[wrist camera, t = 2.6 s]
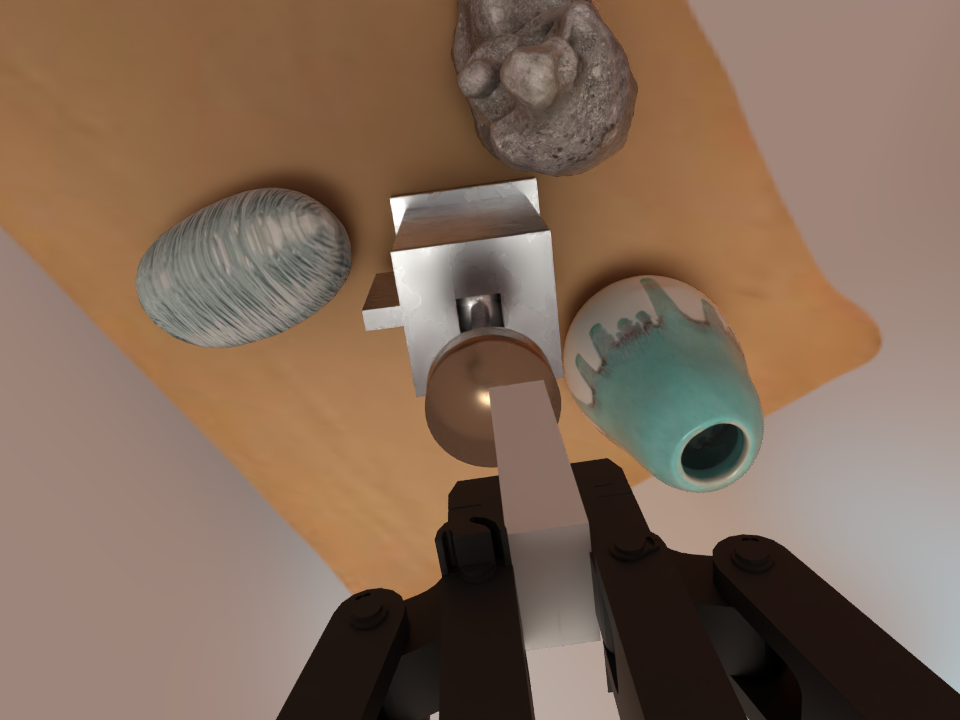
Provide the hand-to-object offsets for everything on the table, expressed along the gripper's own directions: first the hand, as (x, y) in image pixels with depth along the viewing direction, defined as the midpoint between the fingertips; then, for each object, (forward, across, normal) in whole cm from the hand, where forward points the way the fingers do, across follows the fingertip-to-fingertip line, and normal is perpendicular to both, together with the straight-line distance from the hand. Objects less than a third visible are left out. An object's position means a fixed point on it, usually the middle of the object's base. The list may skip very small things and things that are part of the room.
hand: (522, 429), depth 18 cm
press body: (+31, -1, -2) cm, 31 cm away
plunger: (+20, -1, -2) cm, 20 cm away
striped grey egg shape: (+32, -16, 0) cm, 35 cm away
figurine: (+31, +4, +10) cm, 33 cm away
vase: (+32, +10, -10) cm, 35 cm away
